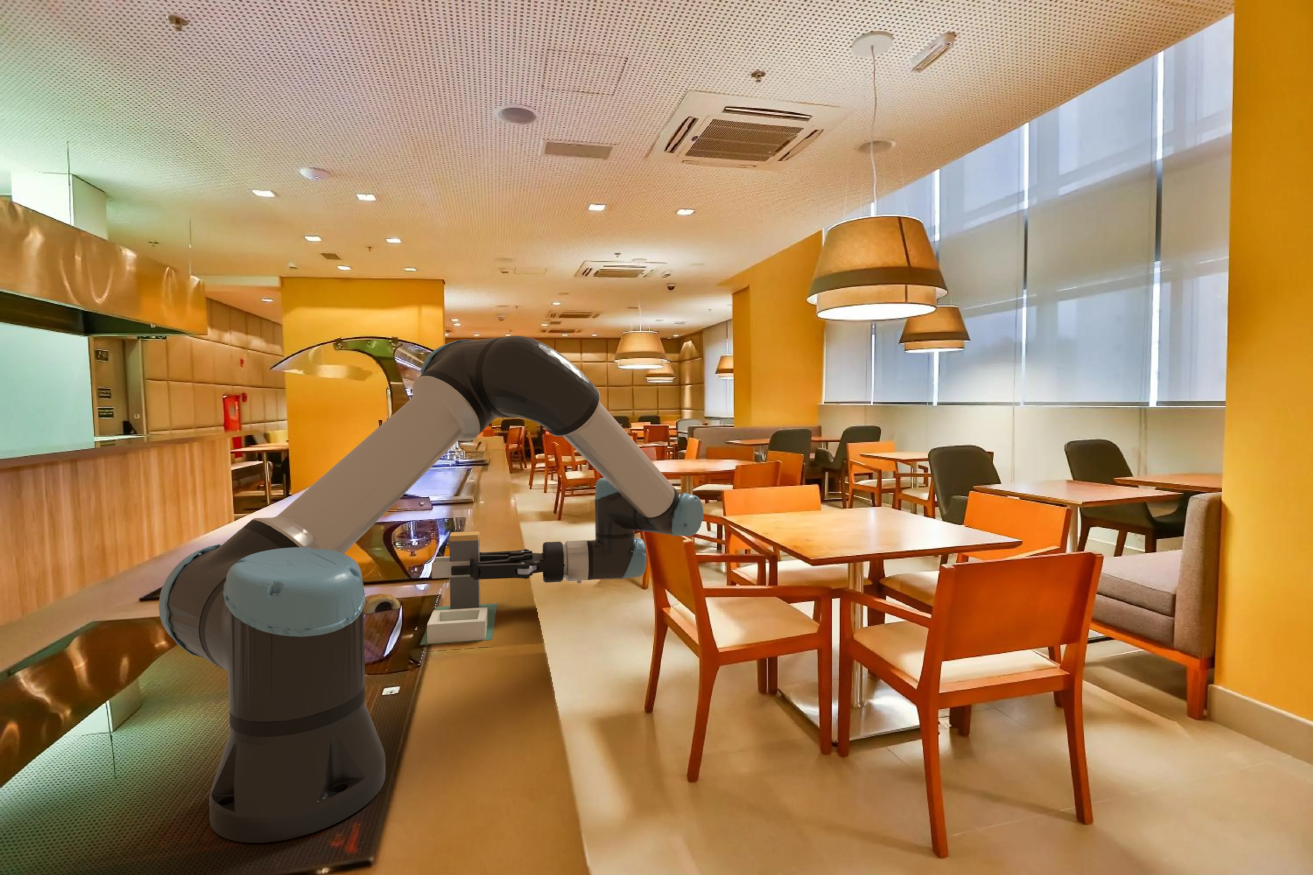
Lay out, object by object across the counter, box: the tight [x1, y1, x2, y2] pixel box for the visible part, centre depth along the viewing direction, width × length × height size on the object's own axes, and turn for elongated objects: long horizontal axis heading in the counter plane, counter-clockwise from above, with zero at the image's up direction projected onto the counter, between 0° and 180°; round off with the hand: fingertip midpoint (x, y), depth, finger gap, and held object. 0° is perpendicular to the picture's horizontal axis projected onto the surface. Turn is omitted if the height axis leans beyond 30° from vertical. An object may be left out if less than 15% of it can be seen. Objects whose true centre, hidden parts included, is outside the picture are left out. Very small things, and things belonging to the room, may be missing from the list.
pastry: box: [364, 593, 401, 615], centre depth 122 cm, size 9×7×4 cm
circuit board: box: [419, 602, 498, 653], centre depth 112 cm, size 20×11×1 cm, turn 12°
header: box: [426, 607, 488, 645], centre depth 106 cm, size 7×9×3 cm
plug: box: [448, 530, 481, 609], centre depth 118 cm, size 4×5×14 cm
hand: (434, 567), depth 117 cm, fingers closed on plug, 4 cm apart
